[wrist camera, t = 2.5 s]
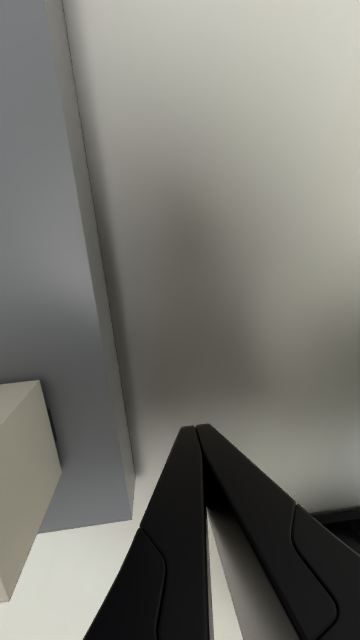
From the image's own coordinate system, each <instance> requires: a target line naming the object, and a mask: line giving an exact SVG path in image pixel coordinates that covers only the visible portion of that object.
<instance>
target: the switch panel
mask: <svg viewBox="0 0 360 640" xmlns="http://www.w3.org/2000/svg"><path fill="white" fill-rule="evenodd" d="M34 380H40V384H41V388H42V392H43V396H44V400H45V404H46V409H47V413H48V417H49V421H50V425H51V429H52V433H53V437H54V441H55V446H56V450H57V454H58V458H59V462H60V466H61V470H62V474H61V476H60V479H59V481H58V484H57V486H56V489H55V491H54V494H53V496H52V498H51V501H50V503H49V506H48V508H47V511H46V513H45V516H44V518H43V520H42V523H41V525H40V528H39V530H38V533H37V534H39V533H46V532H53V531H59V530H66V529H73V528H80V527H86V526H93V525H100V524H106V523H113V522H120V521H127V520H132V512H133V500H134V488H135V471H134V464H133V458H132V451H131V445H130V438H129V432H128V425H127V419H126V412H125V406H124V400H123V393H122V387H121V380H120V374H119V367H118V361H117V354H116V348H115V341H114V335H113V328H112V322H111V316H110V309H109V303H108V296H107V290H106V283H105V277H104V270H103V264H102V257H101V251H100V244H99V238H98V232H97V225H96V219H95V212H94V206H93V199H92V193H91V186H90V180H89V173H88V167H87V160H86V154H85V148H84V141H83V135H82V128H81V122H80V115H79V109H78V102H77V96H76V89H75V83H74V76H73V70H72V64H71V57H70V51H69V44H68V38H67V31H66V25H65V18H64V12H63V5H62V0H0V384H8V383H16V382H25V381H34Z"/></svg>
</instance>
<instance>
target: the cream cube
mask: <svg viewBox="0 0 360 640" xmlns="http://www.w3.org/2000/svg"><path fill="white" fill-rule="evenodd" d="M61 474H62V470H61V466H60V462H59V458H58V454H57V450H56V446H55V441H54V437H53V433H52V429H51V425H50V421H49V417H48V413H47V409H46V404H45V400H44V396H43V392H42V388H41V384H40V380H34V381H25V382H16V383H8V384H0V603H4V602H9V601H10V599H11V596H12V594H13V591H14V589H15V587H16V584H17V582H18V579H19V577H20V574H21V572H22V569H23V567H24V565H25V562H26V560H27V557H28V555H29V552H30V550H31V547H32V545H33V542H34V540H35V538H36V535H37V533H38V530H39V528H40V525H41V523H42V520H43V518H44V516H45V513H46V511H47V508H48V506H49V503H50V501H51V498H52V496H53V494H54V491H55V489H56V486H57V484H58V481H59V479H60V476H61Z"/></svg>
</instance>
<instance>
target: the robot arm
mask: <svg viewBox="0 0 360 640" xmlns="http://www.w3.org/2000/svg"><path fill="white" fill-rule="evenodd" d="M206 507H207V509H206ZM207 512H208V516H209V520H210V524H211V527H212V531H213V535H214V538H215V542H216V545H217V549H218V552H219V556H220V559H221V563H222V566H223V570H224V573H225V577H226V580H227V584H228V587H229V591H230V594H231V598H232V601H233V605H234V609H235V612H236V616H237V619H238V623H239V626H240V630H241V633H242V637H243V640H360V510H355V511H349V512H342V513H336V514H330V515H323V516H317V517H312V516H311V515H310V514H309V513H308V512H307V511H306V510H305V509H304V508H303V507H301V506H300V505H299V504H297V505H296V501H295V500H293V499H292V498H291V497H290V496H289V495H288V494H287V493H286V492H285V491H283V490H282V489H281V488H280V487H279V486H278V485H277V484H276V483H275V482H274V481H272V480H271V479H270V478H269V477H268V476H267V475H266V474H265V473H264V472H262V471H261V470H260V469H259V468H258V467H257V466H256V465H255V464H254V463H252V462H251V461H250V460H249V459H248V458H247V457H246V456H245V455H244V454H243V453H241V452H240V451H239V450H238V449H237V448H236V447H235V446H234V445H233V444H231V443H230V442H229V441H228V440H227V439H226V438H225V437H224V436H223V435H221V434H220V433H219V432H218V431H217V430H216V429H215V428H214V427H213V426H211V425H210V424H200V425H196V427H195V426H193V425H192V426H184V427H181V428H180V430H179V433H178V435H177V437H176V440H175V442H174V445H173V447H172V449H171V452H170V454H169V456H168V459H167V461H166V464H165V466H164V468H163V471H162V473H161V476H160V478H159V480H158V483H157V485H156V487H155V490H154V492H153V495H152V497H151V499H150V502H149V504H148V507H147V509H146V511H145V514H144V516H143V518H142V521H141V523H140V528H139V529H138V530H137V532H136V535H135V537H134V539H133V542H132V544H131V547H130V549H129V551H128V553H127V555H126V558H125V560H124V562H123V564H122V566H121V569H120V571H119V573H118V575H117V577H116V579H115V580H114V582H113V584H112V586H111V588H110V590H109V592H108V594H107V596H106V598H105V600H104V602H103V604H102V605H101V607H100V609H99V611H98V613H97V614H96V616H95V618H94V620H93V622H92V624H91V625H90V627H89V629H88V631H87V633H86V635H85V636H84V638H83V640H214V630H213V612H212V594H211V576H210V558H209V540H208V523H207Z"/></svg>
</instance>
